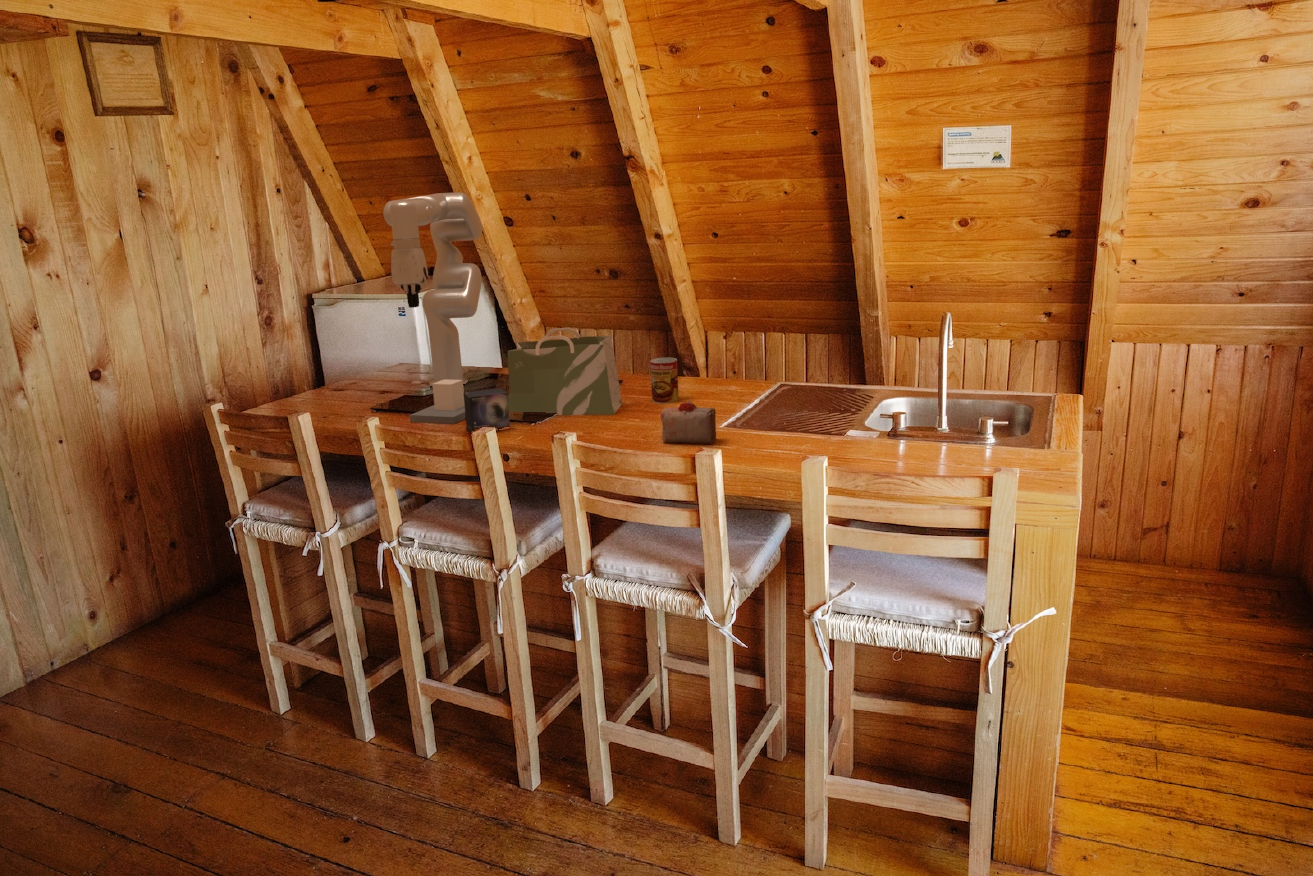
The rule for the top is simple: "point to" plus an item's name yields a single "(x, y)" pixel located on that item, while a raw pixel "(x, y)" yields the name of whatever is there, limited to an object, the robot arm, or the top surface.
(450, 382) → the tan cardboard cube
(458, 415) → the post base
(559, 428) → the top surface
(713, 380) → the top surface
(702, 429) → the food item
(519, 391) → the grocery bag
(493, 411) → the small box
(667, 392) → the canned food
